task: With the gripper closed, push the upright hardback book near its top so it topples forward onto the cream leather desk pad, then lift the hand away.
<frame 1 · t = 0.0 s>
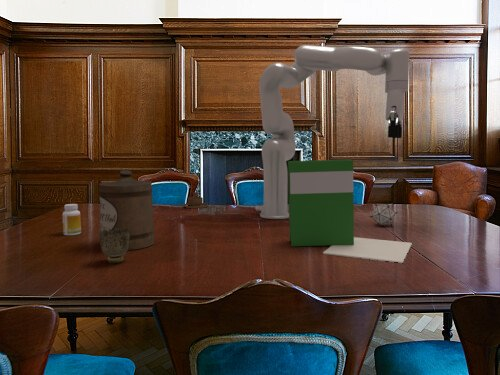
hand: (394, 137, 143), 31 cm above the table, tool pointing down, fingers open, 9 cm apart
supplement bottle: (72, 234, 135), on the table
hardback book: (320, 243, 121), on the table, touching desk pad
cup: (115, 262, 102), on the table
desk pad: (369, 248, 114), on the table
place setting: (199, 207, 197), on the table
wooden container: (128, 245, 120), on the table
game die: (383, 226, 147), on the table
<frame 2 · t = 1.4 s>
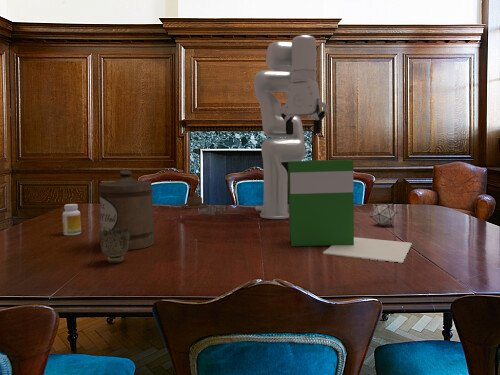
hand: (302, 134, 128), 32 cm above the table, tool pointing down, fingers open, 9 cm apart
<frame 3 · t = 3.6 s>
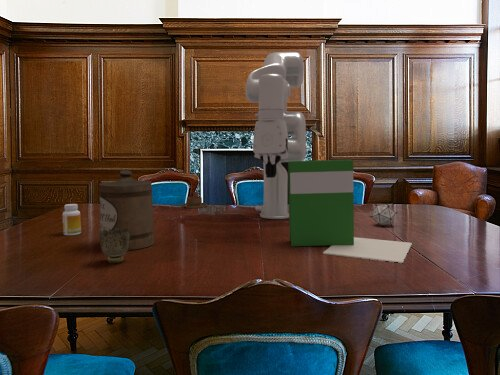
hand: (270, 177, 125), 19 cm above the table, tool pointing down, fingers closed
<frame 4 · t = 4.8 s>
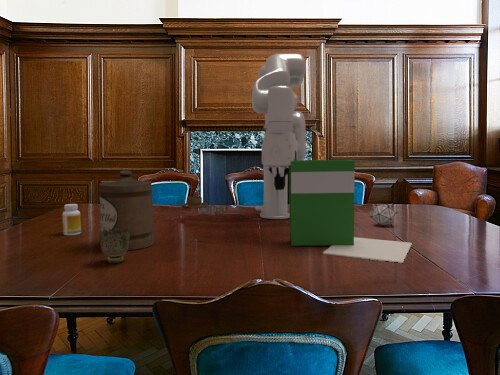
hand: (279, 189, 125), 15 cm above the table, tool pointing down, fingers closed
hardback book: (320, 243, 121), on the table, touching desk pad, gripper
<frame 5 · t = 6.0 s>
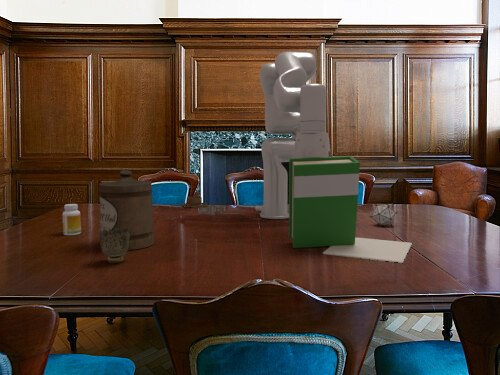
hand: (311, 191, 120), 15 cm above the table, tool pointing down, fingers closed
hardback book: (321, 241, 120), point 1 cm above the table, touching desk pad
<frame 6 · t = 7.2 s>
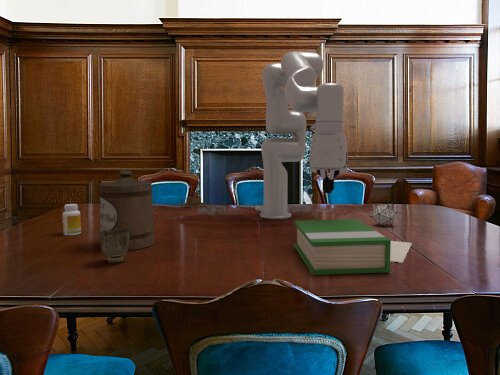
hand: (328, 192, 118), 15 cm above the table, tool pointing down, fingers closed
hardback book: (325, 232, 115), point 4 cm above the table, touching desk pad
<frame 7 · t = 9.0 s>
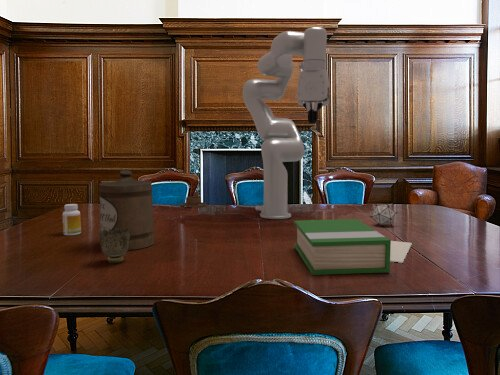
hand: (312, 123, 139), 36 cm above the table, tool pointing down, fingers closed
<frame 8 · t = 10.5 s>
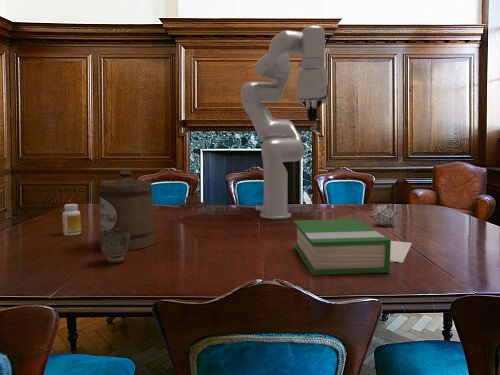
hand: (312, 120, 140), 37 cm above the table, tool pointing down, fingers closed
at the end: hardback book tilted 91°; hardback book inside the target area (6.0 cm from its centre), point 4.3 cm above the table; hardback book touching desk pad, table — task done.
